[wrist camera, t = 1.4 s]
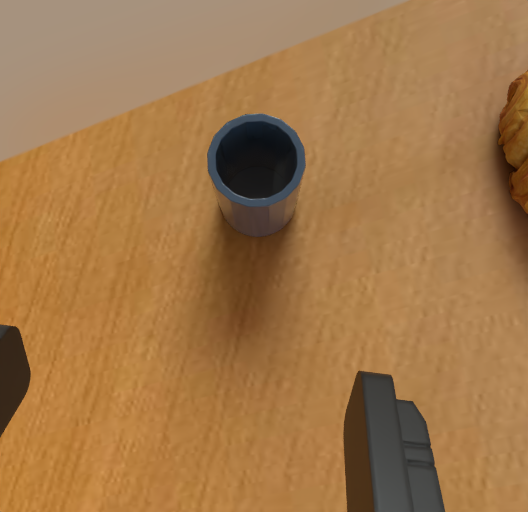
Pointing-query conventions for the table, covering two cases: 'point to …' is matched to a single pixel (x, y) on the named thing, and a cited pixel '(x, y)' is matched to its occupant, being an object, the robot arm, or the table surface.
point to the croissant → (516, 138)
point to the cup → (256, 173)
